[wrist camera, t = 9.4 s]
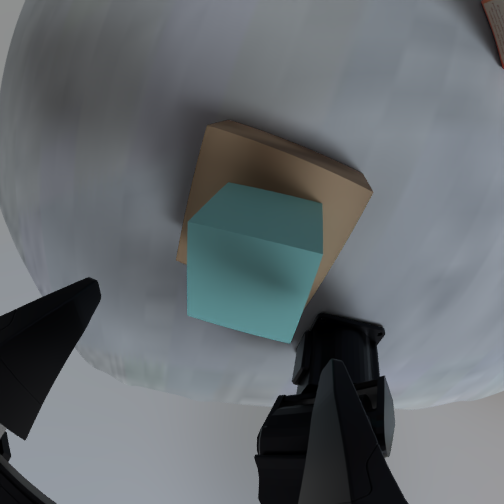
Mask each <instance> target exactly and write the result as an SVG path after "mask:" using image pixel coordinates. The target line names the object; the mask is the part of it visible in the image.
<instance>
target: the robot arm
mask: <svg viewBox="0 0 504 504" xmlns="http://www.w3.org/2000/svg"><path fill="white" fill-rule="evenodd" d="M100 300H101V293H100V288H99V284H98V282H97V280H95V279H93V278H90V277H88V278H85V279H83V280H80V281H78V282H76V283H73V284H71V285H69V286H66V287H64V288H62V289H60V290H57V291H55V292H53V293H50V294H48V295H46V296H44V297H41V298H39V299H37V300H35V301H33V302H30V303H28V304H26V305H24V306H22V307H19V308H17V309H15V310H13V311H11V312H9V313H6V314H4V315H2V316H0V504H56V503H55V502H54V501H52V500H51V499H50V498H48V497H47V496H46V495H45V494H43V493H42V492H41V491H39V490H38V489H37V488H36V487H35V486H33V485H32V484H31V483H30V482H29V481H28V480H27V479H25V478H24V477H23V476H22V475H21V474H20V473H19V472H18V471H17V470H16V469H15V468H13V467H12V466H11V465H10V464H9V463H8V461H9V459H10V457H11V453H10V448H9V443H8V438H7V432H6V431H5V430H6V428H7V429H9V430H10V431H11V432H13V433H14V434H16V435H17V436H19V437H20V438H22V439H23V440H26V438H27V436H28V434H29V432H30V429H31V427H32V425H33V423H34V420H35V419H36V417H37V415H38V413H39V410H40V408H41V406H42V404H43V402H44V400H45V398H46V396H47V395H48V393H49V391H50V389H51V387H52V385H53V383H54V381H55V380H56V378H57V376H58V374H59V373H60V371H61V369H62V367H63V366H64V364H65V362H66V360H67V359H68V357H69V355H70V354H71V352H72V350H73V349H74V347H75V345H76V344H77V342H78V341H79V339H80V337H81V336H82V334H83V333H84V331H85V329H86V327H87V325H88V323H89V321H90V319H91V317H92V315H93V314H94V312H95V310H96V308H97V306H98V304H99V302H100ZM379 332H380V333H379ZM384 335H385V330H384V328H382V327H378V326H374V325H370V324H366V323H362V322H357V321H353V320H349V319H345V318H341V317H337V316H333V315H329V314H326V313H320V314H318V315H317V317H316V319H315V321H314V323H313V325H312V327H311V329H310V331H309V330H308V331H306V332H305V333H304V335H303V337H302V339H301V341H300V343H299V345H298V347H297V353H296V359H295V366H294V372H293V378H292V382H293V384H295V385H298V387H297V394H296V395H288V396H286V395H280V396H278V398H277V400H276V402H275V403H274V405H273V407H272V409H271V411H270V413H269V415H268V417H267V419H266V420H265V422H264V424H263V426H262V428H261V429H260V432H259V434H258V437H257V452H258V455H255V457H254V458H255V462H256V464H257V467H258V473H259V494H258V495H259V496H258V498H259V501H260V503H261V504H408V502H407V501H406V499H405V498H404V496H403V494H402V492H401V490H400V488H399V487H398V485H397V483H396V481H395V479H394V477H393V475H392V473H391V471H390V469H389V467H388V466H387V463H386V461H385V457H389V456H390V451H391V446H392V441H393V434H394V427H395V418H394V406H393V399H392V396H391V393H390V390H389V387H388V384H387V381H386V378H385V376H381V377H380V373H379V362H378V352H377V345H378V343H379V342H380V341H381V339H382V338H383V337H384Z"/></svg>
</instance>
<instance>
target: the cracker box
mask: <svg viewBox="0 0 504 504" xmlns="http://www.w3.org/2000/svg"><path fill="white" fill-rule="evenodd" d="M481 3H482V6H483V8H484V11H485V13H486V16H487V18H488V21H489V24H490V26H491V29H492V32H493V35H494V38H495V42H496V45H497V48H498V52H499V56H500V59H501V64H502V68H503V69H504V0H482V1H481Z"/></svg>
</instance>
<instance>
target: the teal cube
mask: <svg viewBox="0 0 504 504" xmlns="http://www.w3.org/2000/svg"><path fill="white" fill-rule="evenodd" d="M322 256H323V208H322V203H318V202H314V201H310V200H306V199H302V198H298V197H294V196H290V195H286V194H281V193H277V192H273V191H268V190H263V189H259V188H254V187H249V186H245V185H240V184H235V183H230V182H228V183H227V184H226V185H225V186H224V187H222V188H221V189H220V190H219V191H218V192H217V193H216V194H215V195H214V196H213V197H212V198H211V199H210V200H209V201H208V202H207V203H206V204H205V205H204V206H203V207H202V208H201V209H200V210H199V211H198V212H197V213H196V214H195V215H194V216H193V217H192V218H191V219H190V220H189V221H188V231H187V315H188V316H191V317H194V318H197V319H200V320H204V321H207V322H210V323H214V324H217V325H220V326H224V327H227V328H231V329H234V330H238V331H241V332H245V333H249V334H253V335H256V336H260V337H264V338H268V339H272V340H276V341H280V342H285V343H289V344H290V343H291V340H292V338H293V335H294V333H295V330H296V328H297V325H298V323H299V320H300V317H301V315H302V312H303V310H304V307H305V304H306V301H307V299H308V296H309V293H310V291H311V288H312V285H313V282H314V279H315V276H316V274H317V271H318V268H319V265H320V262H321V259H322Z"/></svg>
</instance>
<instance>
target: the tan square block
mask: <svg viewBox="0 0 504 504" xmlns="http://www.w3.org/2000/svg"><path fill="white" fill-rule="evenodd" d="M228 182H230V183H235V184H240V185H245V186H249V187H254V188H259V189H263V190H268V191H273V192H277V193H281V194H286V195H290V196H294V197H298V198H302V199H306V200H310V201H314V202H318V203H322V208H323V256H322V259H321V262H320V265H319V268H318V271H317V274H316V276H315V279H314V282H313V285H312V288H311V291H310V293H309V296H308V299H307V301H306V304H305V307H306V306H307V304H308V303H309V301H310V300H311V298H312V297H313V295H314V294H315V292H316V290H317V289H318V287H319V286H320V284H321V283H322V281H323V279H324V278H325V276H326V275H327V273H328V271H329V270H330V268H331V266H332V265H333V263H334V261H335V260H336V258H337V256H338V255H339V253H340V251H341V250H342V248H343V246H344V245H345V243H346V241H347V239H348V238H349V236H350V234H351V232H352V231H353V229H354V227H355V225H356V224H357V222H358V220H359V218H360V216H361V214H362V213H363V211H364V209H365V207H366V205H367V203H368V202H369V200H370V198H371V196H372V194H373V191H372V189H371V187H370V185H369V184H368V182H367V180H366V178H365V177H364V175H363V174H362V173H360V172H358V171H356V170H354V169H352V168H350V167H348V166H346V165H344V164H342V163H339V162H337V161H335V160H333V159H331V158H329V157H326V156H324V155H322V154H319V153H317V152H315V151H313V150H310V149H308V148H305V147H303V146H301V145H298V144H296V143H293V142H291V141H288V140H285V139H283V138H280V137H278V136H275V135H272V134H269V133H267V132H264V131H261V130H258V129H255V128H252V127H250V126H247V125H244V124H240V123H237V122H234V121H231V120H225V121H221V122H217V123H214V124H210V125H207V127H206V130H205V134H204V138H203V141H202V145H201V149H200V153H199V156H198V160H197V164H196V168H195V172H194V176H193V181H192V185H191V189H190V193H189V198H188V202H187V207H186V211H185V216H184V221H183V226H182V231H181V236H180V241H179V246H178V251H177V257H176V261H179V262H181V263H183V264H186V265H187V231H188V221H189V220H190V219H191V218H192V217H193V216H194V215H195V214H196V213H197V212H198V211H199V210H200V209H201V208H202V207H203V206H204V205H205V204H206V203H207V202H208V201H209V200H210V199H211V198H212V197H213V196H214V195H215V194H216V193H217V192H218V191H219V190H220V189H221V188H222V187H224V186H225V185H226V184H227V183H228ZM305 307H304V309H305Z"/></svg>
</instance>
